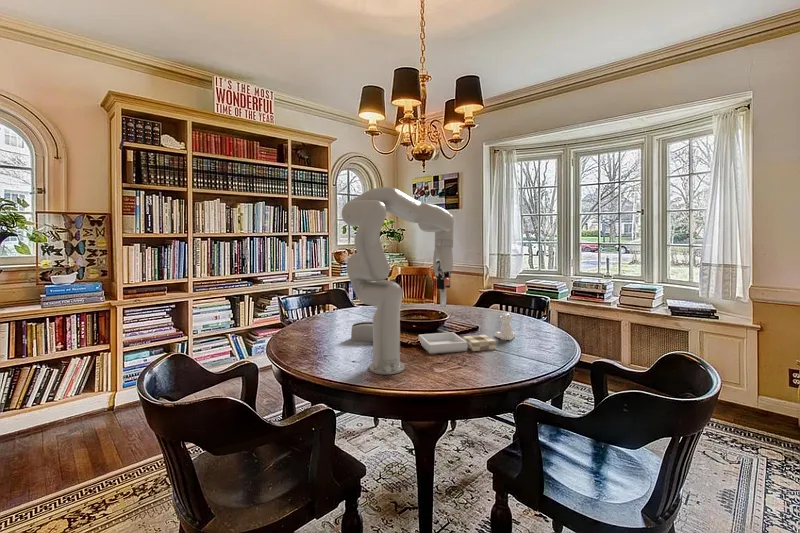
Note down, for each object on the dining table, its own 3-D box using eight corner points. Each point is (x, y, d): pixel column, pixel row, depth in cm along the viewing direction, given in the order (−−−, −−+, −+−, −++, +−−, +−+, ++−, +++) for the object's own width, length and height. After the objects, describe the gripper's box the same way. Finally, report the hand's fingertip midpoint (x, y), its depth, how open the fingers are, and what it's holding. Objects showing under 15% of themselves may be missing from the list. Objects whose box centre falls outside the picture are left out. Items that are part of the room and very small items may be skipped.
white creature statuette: (515, 336, 182) (515, 310, 181) (519, 341, 174) (519, 314, 173) (494, 335, 183) (494, 310, 182) (496, 341, 175) (497, 314, 174)
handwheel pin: (435, 305, 167) (435, 276, 166) (446, 305, 168) (447, 276, 167) (439, 307, 162) (439, 277, 161) (450, 307, 164) (451, 277, 162)
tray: (467, 350, 161) (467, 342, 161) (429, 353, 158) (429, 345, 157) (452, 340, 177) (453, 332, 177) (418, 342, 173) (418, 334, 173)
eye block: (495, 349, 163) (495, 340, 163) (472, 351, 161) (473, 342, 161) (484, 342, 173) (484, 334, 173) (463, 344, 171) (463, 336, 170)
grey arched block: (388, 338, 181) (387, 319, 177) (387, 344, 177) (387, 325, 172) (352, 337, 182) (350, 319, 178) (350, 343, 178) (348, 325, 173)
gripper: (444, 243, 172) (444, 285, 174) (426, 244, 158) (425, 290, 159) (460, 243, 168) (460, 286, 170) (443, 245, 154) (442, 291, 156)
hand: (443, 287), depth 165 cm, fingers closed on handwheel pin, 5 cm apart
